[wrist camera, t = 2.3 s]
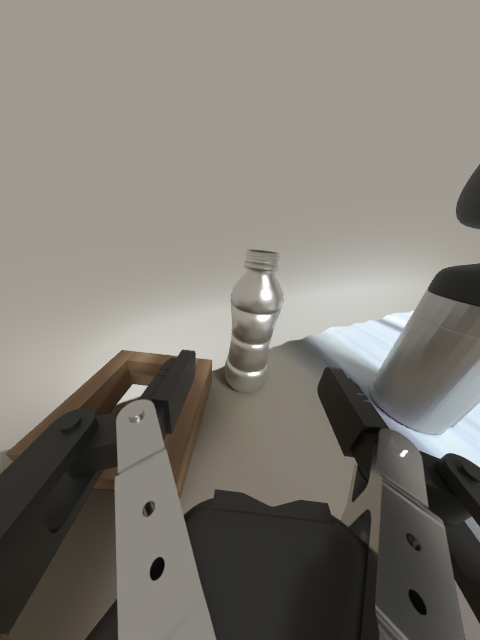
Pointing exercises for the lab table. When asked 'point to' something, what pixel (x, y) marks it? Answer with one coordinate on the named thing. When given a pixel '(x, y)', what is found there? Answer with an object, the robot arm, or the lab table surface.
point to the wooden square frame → (110, 389)
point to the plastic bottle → (253, 321)
